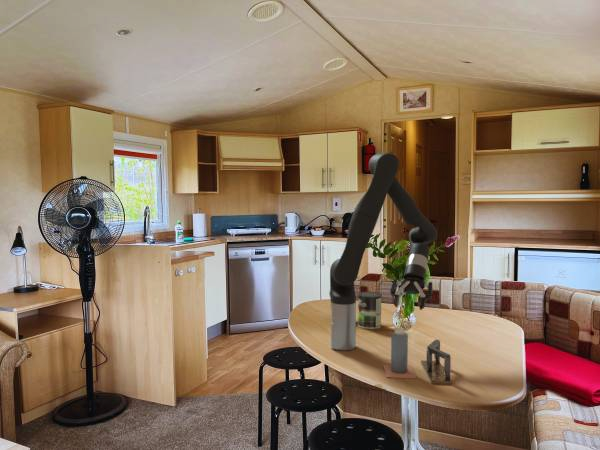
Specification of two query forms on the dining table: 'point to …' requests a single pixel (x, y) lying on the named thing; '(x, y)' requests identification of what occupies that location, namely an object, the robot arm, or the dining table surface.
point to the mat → (395, 375)
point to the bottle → (399, 351)
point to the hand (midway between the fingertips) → (408, 307)
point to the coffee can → (369, 310)
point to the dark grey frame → (437, 364)
